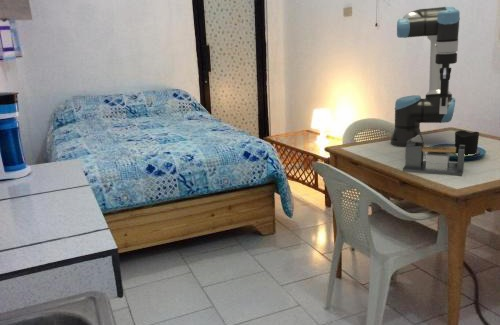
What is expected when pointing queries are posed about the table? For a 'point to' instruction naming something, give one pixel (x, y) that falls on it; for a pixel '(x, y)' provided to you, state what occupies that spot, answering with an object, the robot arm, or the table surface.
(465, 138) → the pen holder
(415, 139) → the electrical switch
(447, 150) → the strap
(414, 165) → the base
